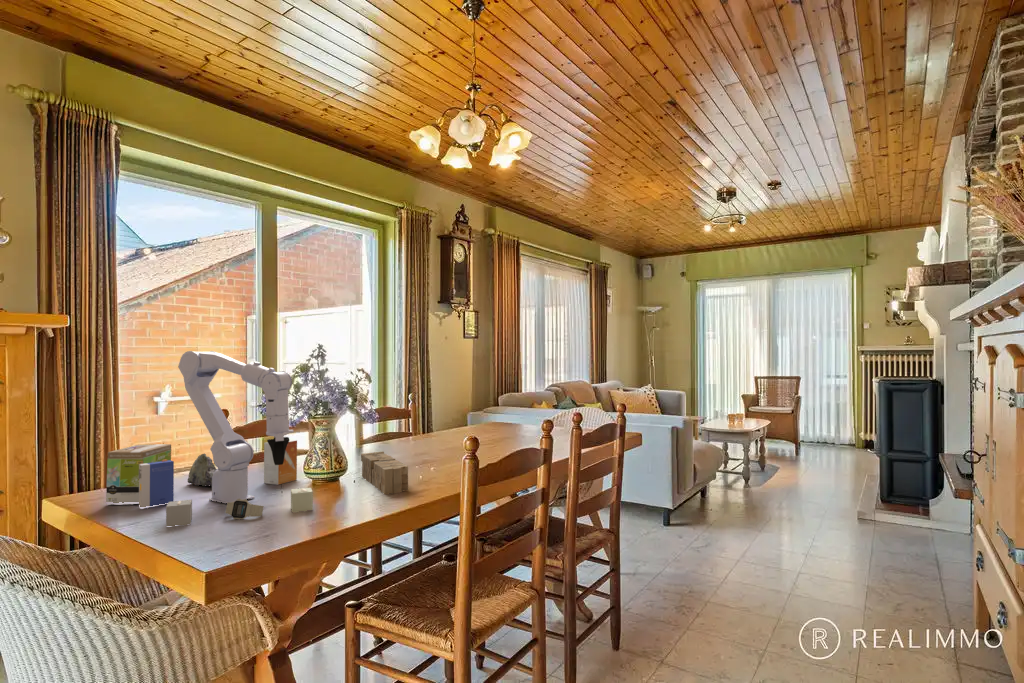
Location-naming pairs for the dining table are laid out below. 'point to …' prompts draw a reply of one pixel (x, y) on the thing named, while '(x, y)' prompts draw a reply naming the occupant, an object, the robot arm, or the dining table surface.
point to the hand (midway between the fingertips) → (278, 464)
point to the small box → (280, 472)
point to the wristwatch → (243, 509)
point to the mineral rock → (202, 471)
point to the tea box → (131, 469)
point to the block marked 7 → (301, 499)
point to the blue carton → (156, 483)
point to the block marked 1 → (179, 513)
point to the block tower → (384, 472)
